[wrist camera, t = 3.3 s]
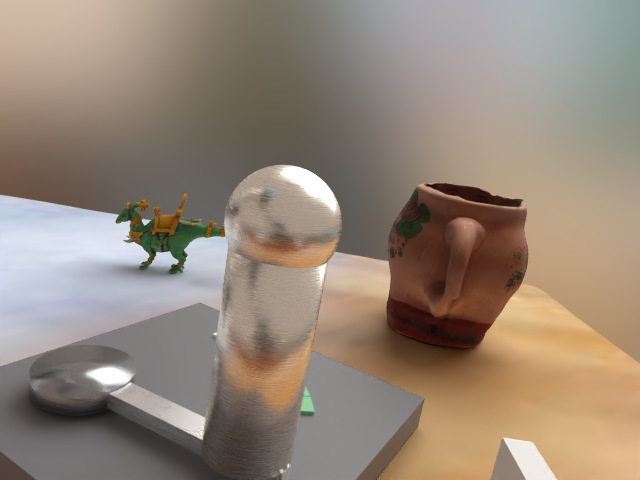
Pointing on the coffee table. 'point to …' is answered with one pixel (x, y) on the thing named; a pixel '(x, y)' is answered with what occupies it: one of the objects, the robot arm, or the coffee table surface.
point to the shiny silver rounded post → (230, 336)
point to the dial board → (192, 393)
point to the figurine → (165, 232)
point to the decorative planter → (454, 263)
